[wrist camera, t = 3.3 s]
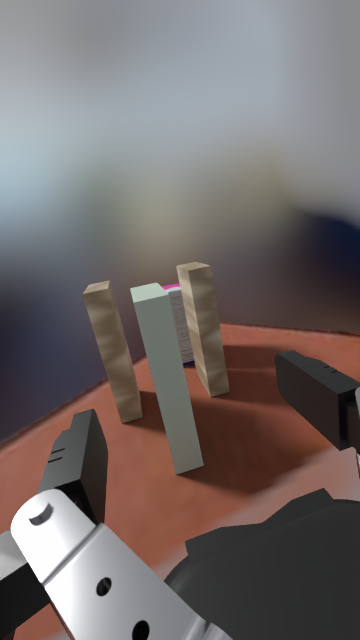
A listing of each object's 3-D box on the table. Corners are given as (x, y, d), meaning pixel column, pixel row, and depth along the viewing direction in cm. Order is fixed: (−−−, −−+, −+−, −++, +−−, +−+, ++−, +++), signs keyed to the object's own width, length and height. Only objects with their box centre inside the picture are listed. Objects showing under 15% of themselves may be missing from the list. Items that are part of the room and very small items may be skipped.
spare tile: (176, 474, 23) (133, 302, 18) (165, 428, 28) (130, 288, 24) (203, 465, 23) (168, 294, 19) (187, 421, 29) (157, 282, 24)
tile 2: (210, 397, 32) (188, 270, 28) (197, 374, 38) (176, 265, 33) (229, 391, 32) (210, 265, 28) (213, 369, 38) (195, 261, 34)
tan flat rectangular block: (121, 423, 31) (82, 294, 26) (121, 395, 36) (89, 284, 32) (142, 417, 31) (107, 288, 26) (139, 390, 37) (109, 280, 32)
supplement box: (218, 357, 41) (206, 283, 38) (181, 368, 40) (165, 293, 37) (205, 344, 47) (194, 278, 43) (172, 353, 46) (157, 286, 42)
